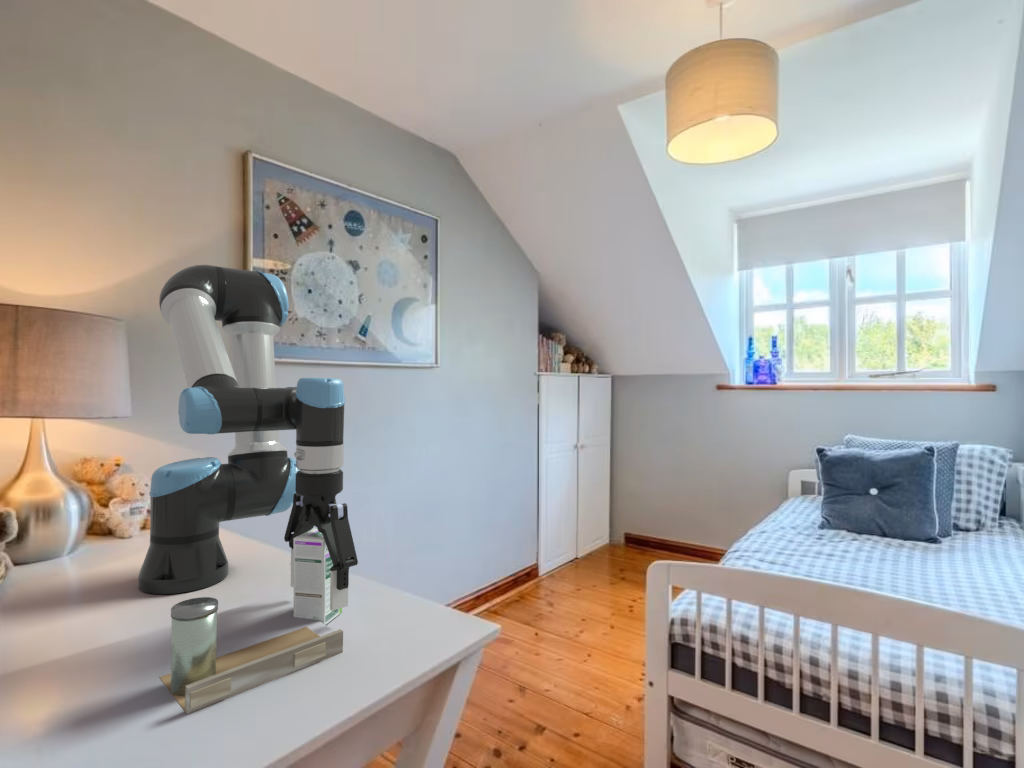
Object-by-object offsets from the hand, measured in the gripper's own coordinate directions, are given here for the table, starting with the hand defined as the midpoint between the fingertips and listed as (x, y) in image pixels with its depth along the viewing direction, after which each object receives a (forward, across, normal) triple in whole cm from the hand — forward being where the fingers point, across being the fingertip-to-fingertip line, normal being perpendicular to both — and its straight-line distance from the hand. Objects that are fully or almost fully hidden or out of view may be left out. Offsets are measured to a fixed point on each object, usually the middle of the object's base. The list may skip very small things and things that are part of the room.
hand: (318, 595), depth 91 cm
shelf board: (+4, +10, -14) cm, 17 cm away
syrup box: (+4, 0, 0) cm, 4 cm away
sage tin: (+3, +9, -22) cm, 23 cm away
